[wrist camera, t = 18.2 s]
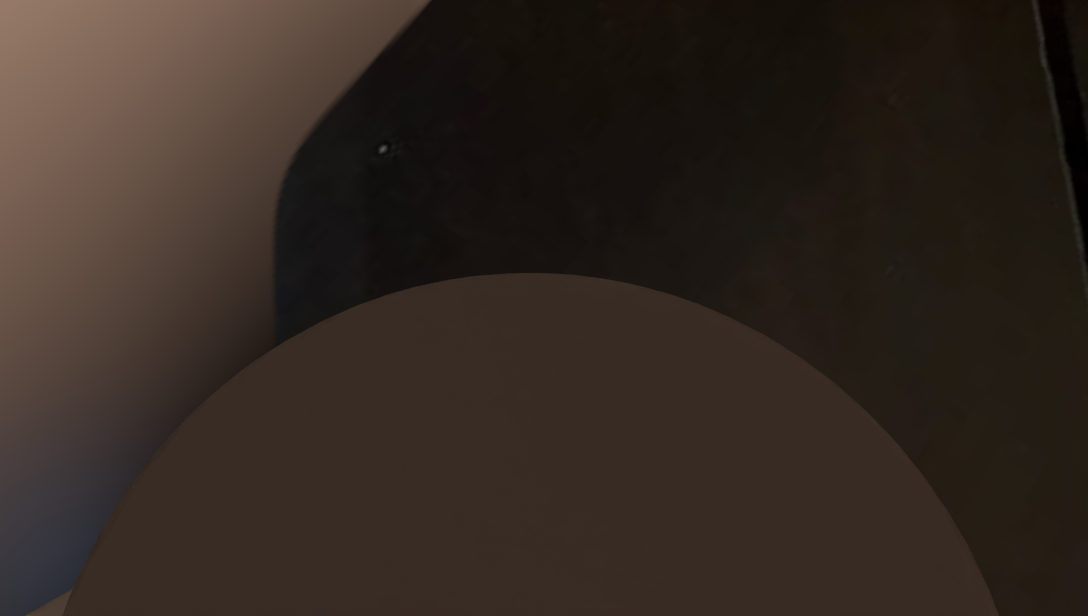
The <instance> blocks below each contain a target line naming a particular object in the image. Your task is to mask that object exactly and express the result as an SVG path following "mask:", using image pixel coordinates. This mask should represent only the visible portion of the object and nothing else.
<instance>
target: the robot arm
mask: <svg viewBox="0 0 1088 616" xmlns="http://www.w3.org/2000/svg"><path fill="white" fill-rule="evenodd" d="M72 590H73V589H71V590H70V591H68V592H66V593H64V594H63V595H61V596H59V597H57V598H56V599H54V600H52V601H50V602H48V603H47V604H45V605H43V606H42V607H40V608H38V609H36V610H34V611H33V612H31V613H29V614H27V615H26V616H63V613H64V610H65V607H66V605H67V602H68V599H69V596H70V594H71V592H72Z"/></svg>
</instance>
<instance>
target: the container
mask: <svg viewBox="0 0 1088 616" xmlns="http://www.w3.org/2000/svg"><path fill="white" fill-rule="evenodd" d="M63 616H999V615H998V612H997V610H996V607H995V604H994V602H993V599H992V597H991V594H990V592H989V589H988V587H987V585H986V583H985V581H984V579H983V576H982V574H981V572H980V570H979V568H978V566H977V564H976V561H975V559H974V557H973V555H972V553H971V551H970V549H969V547H968V545H967V544H966V542H965V540H964V538H963V537H962V535H961V533H960V532H959V530H958V528H957V526H956V525H955V523H954V521H953V520H952V518H951V516H950V514H949V513H948V511H947V510H946V508H945V507H944V505H943V504H942V502H941V501H940V499H939V498H938V497H937V495H936V494H935V492H934V491H933V489H932V488H931V486H930V485H929V484H928V482H927V481H926V479H925V478H924V476H923V475H922V474H921V473H920V471H919V470H918V469H917V468H916V466H915V465H914V464H913V463H912V461H911V460H910V459H909V458H908V456H907V455H906V454H905V453H904V451H903V450H902V449H901V448H900V446H899V445H898V444H897V443H896V442H895V441H894V440H893V439H892V438H891V437H890V435H889V434H888V433H887V432H886V431H885V430H884V429H883V428H882V427H881V426H880V425H879V424H878V423H877V422H876V421H875V420H874V419H873V418H872V417H871V416H870V415H869V414H868V413H867V412H866V411H865V410H864V409H863V408H862V407H861V406H860V405H859V404H857V403H856V402H855V401H854V400H853V399H852V398H851V397H850V396H848V395H847V394H846V393H845V392H844V391H843V390H842V389H841V388H839V387H838V386H837V385H836V384H835V383H834V382H833V381H831V380H830V379H829V378H827V377H826V376H825V375H823V374H822V373H820V372H819V371H818V370H816V369H815V368H814V367H812V366H811V365H810V364H808V363H807V362H806V361H804V360H803V359H802V358H800V357H799V356H797V355H796V354H794V353H792V352H791V351H789V350H788V349H786V348H784V347H783V346H781V345H779V344H778V343H776V342H775V341H773V340H771V339H770V338H768V337H767V336H765V335H763V334H761V333H759V332H757V331H755V330H753V329H751V328H749V327H747V326H746V325H744V324H742V323H740V322H738V321H736V320H734V319H732V318H730V317H728V316H725V315H723V314H721V313H718V312H716V311H714V310H711V309H709V308H706V307H704V306H702V305H699V304H696V303H693V302H691V301H688V300H685V299H682V298H679V297H676V296H674V295H671V294H667V293H663V292H660V291H656V290H652V289H648V288H645V287H641V286H637V285H634V284H629V283H623V282H618V281H613V280H607V279H601V278H594V277H586V276H578V275H567V274H550V273H509V274H496V275H483V276H472V277H465V278H459V279H452V280H446V281H441V282H436V283H431V284H427V285H422V286H417V287H413V288H410V289H407V290H403V291H400V292H396V293H393V294H389V295H386V296H383V297H380V298H377V299H374V300H372V301H369V302H366V303H363V304H360V305H358V306H355V307H353V308H351V309H349V310H346V311H344V312H342V313H340V314H337V315H335V316H333V317H331V318H328V319H326V320H324V321H322V322H320V323H318V324H316V325H315V326H313V327H311V328H309V329H307V330H305V331H303V332H302V333H300V334H298V335H296V336H294V337H292V338H290V339H289V340H287V341H285V342H284V343H282V344H280V345H279V346H277V347H276V348H274V349H273V350H271V351H270V352H268V353H267V354H265V355H263V356H262V357H260V358H259V359H257V360H256V361H254V362H252V363H251V364H250V365H248V366H247V367H246V368H245V369H243V370H242V371H241V372H239V373H238V374H237V375H236V376H234V377H233V378H232V379H231V380H229V381H228V382H227V383H225V384H224V385H223V386H222V387H220V388H219V389H218V390H217V391H216V392H215V393H214V394H212V395H211V396H210V397H209V398H208V399H207V400H206V401H205V402H204V403H203V404H202V405H200V406H199V407H198V408H197V409H196V410H195V411H194V412H193V413H192V414H191V415H189V416H188V417H187V419H186V420H185V421H184V422H183V423H182V424H181V425H180V426H179V427H178V428H177V429H176V430H175V432H173V434H172V435H171V436H170V437H169V438H168V439H167V440H166V441H165V442H164V443H163V444H162V445H161V447H160V448H159V449H158V450H157V451H156V453H155V454H154V455H153V456H152V458H151V459H150V460H149V461H148V463H147V464H146V466H145V467H144V468H143V469H142V470H141V472H140V473H139V474H138V476H137V477H136V478H135V479H134V481H133V482H132V483H131V485H130V486H129V488H128V489H127V491H126V492H125V494H124V496H123V497H122V499H121V500H120V501H119V503H118V504H117V506H116V507H115V509H114V511H113V512H112V514H111V516H110V518H109V519H108V521H107V522H106V524H105V526H104V528H103V529H102V531H101V533H100V534H99V536H98V538H97V540H96V542H95V544H94V546H93V548H92V549H91V552H90V553H89V555H88V558H87V560H86V561H85V563H84V565H83V567H82V570H81V572H80V574H79V576H78V578H77V581H76V583H75V585H74V588H73V590H72V592H71V594H70V596H69V599H68V602H67V605H66V607H65V610H64V613H63Z"/></svg>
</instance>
